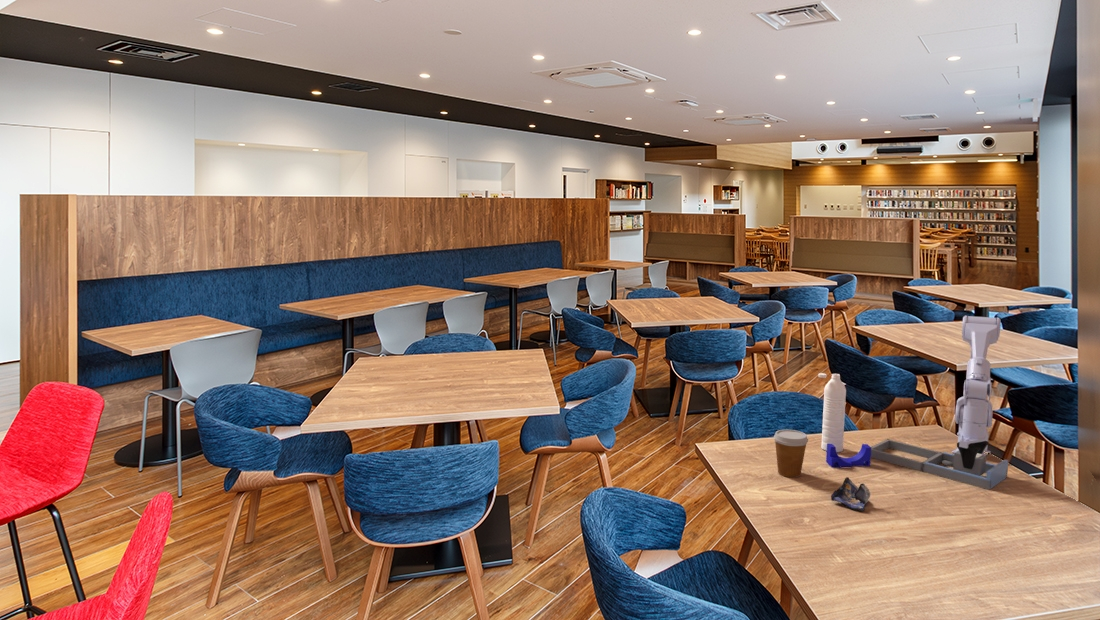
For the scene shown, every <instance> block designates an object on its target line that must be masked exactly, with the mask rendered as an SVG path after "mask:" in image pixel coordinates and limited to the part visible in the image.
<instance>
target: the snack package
mask: <svg viewBox="0 0 1100 620" xmlns="http://www.w3.org/2000/svg"><path fill="white" fill-rule="evenodd" d="M856 483H857V481H856ZM858 484H860V485H859V486H857V484H855V483H854V482H853V481H852V480H851V479H850V478H849V477H848V476H846V477H845V478H844V480H843V483H842V484H841V486H840V487H839V488H837V489H835V490H834V491H833V493H832V494H831V496H830V499H831V501H832V502H836V503H837V502H838V503H841V504H843V505H845V508H848V509H850V510H852V511H859V512H865V510H866V505H867V503H868V502H869V501H870V498H871V492H870V489H869V488H868V487H867V486H866V485H865V484H864V483H860V482H858ZM854 499H855V501H856V503H855V502H851V501H852V500H854Z"/></svg>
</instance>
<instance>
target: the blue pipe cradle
mask: <svg viewBox="0 0 1100 620" xmlns="http://www.w3.org/2000/svg"><path fill="white" fill-rule="evenodd" d="M871 447H872V446H870V445H869V444H867V443H862V444H861V448H860V449H859V452H857V453H856V454H855V455H853V456H852V457H842V456H840V455H839V454H838V452H836V447H835V446H834V445H833V444H827V451H826V458H825V459H826V460H825V462H826V463H827V465H829V466H830V467H831V468H841V467H871V459H872V458H871Z"/></svg>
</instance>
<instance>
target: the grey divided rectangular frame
mask: <svg viewBox="0 0 1100 620" xmlns="http://www.w3.org/2000/svg"><path fill="white" fill-rule="evenodd" d="M870 447H871V459H875V460H879V461H883V462H887V463H890V464H893V465H897V466H901V467H905V468H908V469H912V470H915V471H919V472H923V473H926V474H931V475H934V476H938V477H941V478H943V479H944V478H946V479H949V480H952V481H955V482H959V483H962V484H966V485H970V486H974V487H977V486H978V487H977V488H981V489H985V490H991V489H992V488H994V487H996V486H997V485H998V484H999V483H1001V482H1002V481H1004V480H1005V479H1006V478H1008V470H1009V460H1008V459H1003V460H1001V461H1000V462H999V463H997V464H994V463H990V462H986V469H985V473H984V474H986V475H985V477H984V476H982V475H981V476H977V475H974V474H970V473H966V472H962V471H958V470H954V469H953V468H950V467H948V466H947V467H946V466H942V465H939V464H940V463H942V461H944V460H946V461H950V462H954V453H950V452H949V453H948V452H945V451H943V452H941V451H938V450H934V449H929V448H926V447H921V446H917V445H913V444H909V443H906V442H900V441H897V440H893V439H888V438H887V439H884V440H883V441H880V442H878V443H876V444H874V445H871V446H870ZM885 449H886V450H888V449H892V450H895V451H898V452H899V451H900V452H903V453H907V454H911V455H914V456H919V457H923V458H927V459H925V460H924V461H919V460H915V459H912V458H908V457H904V456H901V455H897V454H893V453H890V452H886V451H885ZM996 484H997V485H996Z"/></svg>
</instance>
